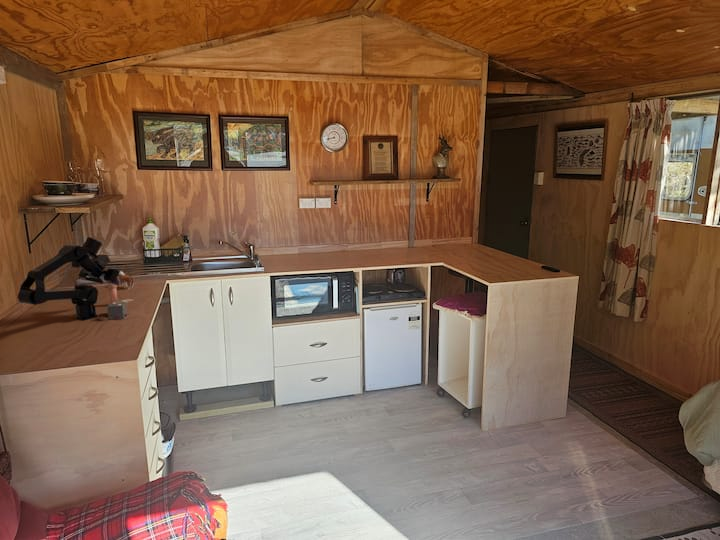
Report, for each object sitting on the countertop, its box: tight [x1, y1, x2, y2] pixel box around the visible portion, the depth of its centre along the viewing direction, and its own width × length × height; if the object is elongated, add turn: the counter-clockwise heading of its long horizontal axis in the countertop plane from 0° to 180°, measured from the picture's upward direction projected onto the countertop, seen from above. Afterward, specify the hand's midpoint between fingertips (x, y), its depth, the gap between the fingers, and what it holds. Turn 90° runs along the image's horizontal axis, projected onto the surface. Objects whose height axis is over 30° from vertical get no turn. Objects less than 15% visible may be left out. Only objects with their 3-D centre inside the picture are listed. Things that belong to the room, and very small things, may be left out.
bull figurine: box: [118, 270, 135, 290], centre depth 270 cm, size 4×13×8 cm, turn 51°
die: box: [106, 301, 128, 321], centre depth 219 cm, size 6×6×6 cm
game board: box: [119, 298, 133, 303], centre depth 238 cm, size 13×6×1 cm, turn 161°
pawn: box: [107, 283, 119, 304], centre depth 233 cm, size 4×4×11 cm
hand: (110, 283), depth 231 cm, fingers open, 9 cm apart
